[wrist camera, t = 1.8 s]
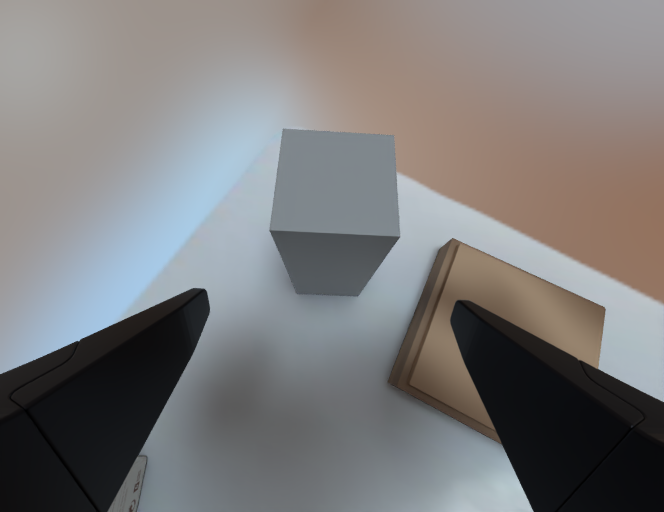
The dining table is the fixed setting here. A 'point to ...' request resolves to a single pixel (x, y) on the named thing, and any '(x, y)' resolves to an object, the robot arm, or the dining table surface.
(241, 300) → the dining table surface
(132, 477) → the supplement box
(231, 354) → the dining table surface
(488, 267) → the walnut stand
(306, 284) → the block
